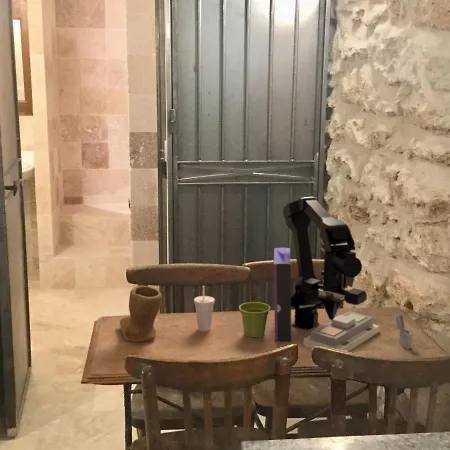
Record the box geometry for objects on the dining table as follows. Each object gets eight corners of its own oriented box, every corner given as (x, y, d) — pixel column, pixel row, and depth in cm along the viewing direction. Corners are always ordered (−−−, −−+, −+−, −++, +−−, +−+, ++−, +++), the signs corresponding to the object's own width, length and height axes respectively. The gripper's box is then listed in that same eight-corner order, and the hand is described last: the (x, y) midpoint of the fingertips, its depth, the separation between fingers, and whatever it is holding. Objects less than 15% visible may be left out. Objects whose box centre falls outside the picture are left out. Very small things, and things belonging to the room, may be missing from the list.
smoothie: (190, 331, 203) (190, 287, 199) (199, 323, 208) (199, 281, 205) (209, 334, 200) (209, 290, 197) (217, 326, 206) (218, 284, 203)
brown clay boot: (164, 343, 194) (164, 294, 190) (123, 346, 191) (122, 297, 188) (157, 324, 208) (157, 278, 205) (119, 327, 206) (118, 280, 202)
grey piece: (303, 345, 193) (304, 330, 192) (344, 322, 211) (345, 309, 210) (339, 356, 186) (340, 341, 185) (378, 331, 203) (379, 318, 202)
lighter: (411, 348, 192) (413, 322, 190) (406, 348, 191) (408, 322, 190) (398, 338, 199) (400, 313, 197) (393, 339, 198) (395, 313, 196)
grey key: (331, 327, 197) (331, 319, 196) (339, 322, 201) (340, 314, 200) (346, 331, 194) (346, 323, 193) (354, 326, 198) (354, 318, 197)
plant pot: (232, 334, 201) (232, 307, 199) (252, 325, 207) (252, 299, 205) (255, 343, 194) (256, 315, 192) (275, 334, 201) (276, 307, 199)
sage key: (342, 325, 203) (343, 317, 202) (351, 320, 206) (351, 313, 206) (357, 329, 200) (357, 321, 199) (365, 324, 203) (365, 316, 203)
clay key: (318, 339, 192) (318, 331, 192) (327, 333, 196) (327, 326, 195) (333, 343, 189) (333, 335, 188) (342, 338, 193) (342, 330, 192)
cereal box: (275, 319, 212) (274, 247, 207) (290, 319, 212) (289, 247, 206) (275, 341, 195) (273, 263, 190) (291, 341, 195) (290, 263, 190)
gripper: (377, 267, 188) (374, 319, 191) (320, 255, 199) (318, 304, 203) (358, 276, 179) (355, 330, 183) (300, 263, 191) (298, 314, 194)
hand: (331, 319), depth 191 cm, fingers closed
